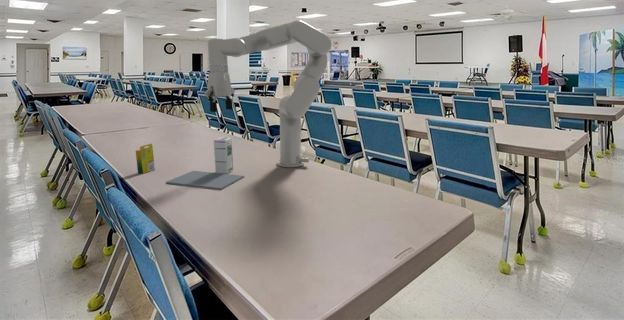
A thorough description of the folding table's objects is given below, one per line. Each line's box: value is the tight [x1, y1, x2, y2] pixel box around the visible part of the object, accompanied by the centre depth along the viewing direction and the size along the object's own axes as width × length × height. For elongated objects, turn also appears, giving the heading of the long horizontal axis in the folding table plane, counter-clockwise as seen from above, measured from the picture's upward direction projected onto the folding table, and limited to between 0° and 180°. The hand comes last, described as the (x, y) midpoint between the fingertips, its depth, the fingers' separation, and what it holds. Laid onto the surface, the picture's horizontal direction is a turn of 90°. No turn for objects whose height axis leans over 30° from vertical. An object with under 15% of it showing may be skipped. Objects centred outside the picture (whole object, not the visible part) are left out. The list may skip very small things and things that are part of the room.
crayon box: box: [135, 143, 156, 175], centre depth 169 cm, size 7×3×12 cm, turn 160°
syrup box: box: [213, 136, 234, 174], centre depth 169 cm, size 6×6×14 cm
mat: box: [165, 170, 245, 191], centre depth 158 cm, size 24×18×1 cm
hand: (221, 110), depth 171 cm, fingers open, 9 cm apart
